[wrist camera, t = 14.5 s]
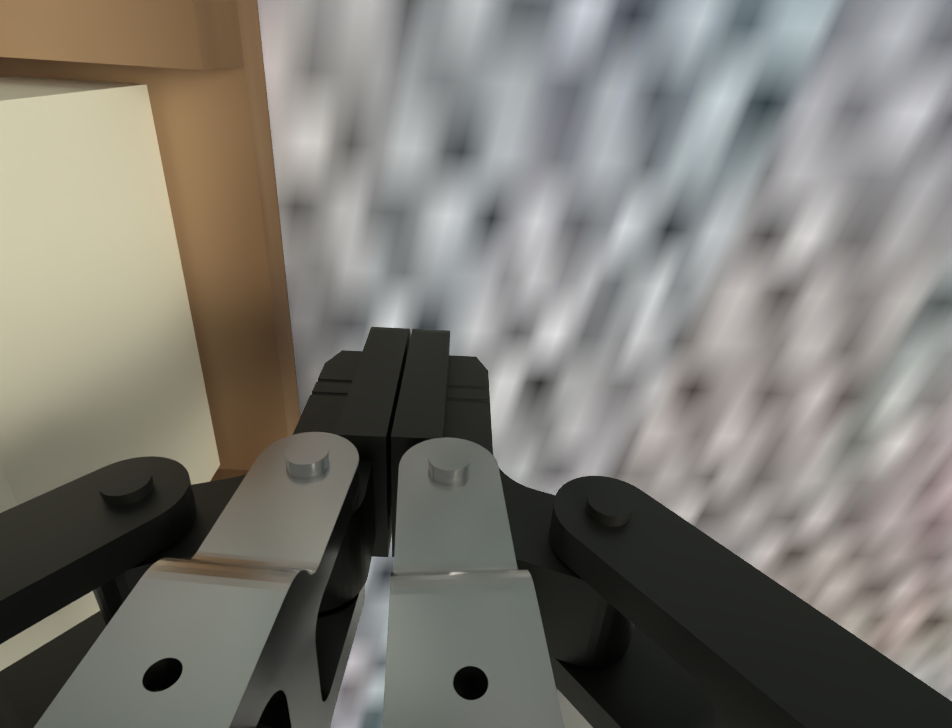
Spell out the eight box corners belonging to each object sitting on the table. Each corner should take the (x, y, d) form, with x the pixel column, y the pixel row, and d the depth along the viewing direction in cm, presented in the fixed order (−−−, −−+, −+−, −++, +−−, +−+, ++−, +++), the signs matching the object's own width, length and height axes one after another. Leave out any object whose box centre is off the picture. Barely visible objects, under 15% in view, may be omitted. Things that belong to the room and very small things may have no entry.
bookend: (128, 461, 15) (-48, 675, 10) (18, 76, 11) (-401, 101, 6) (220, 464, 15) (91, 679, 10) (146, 84, 11) (-148, 116, 6)
